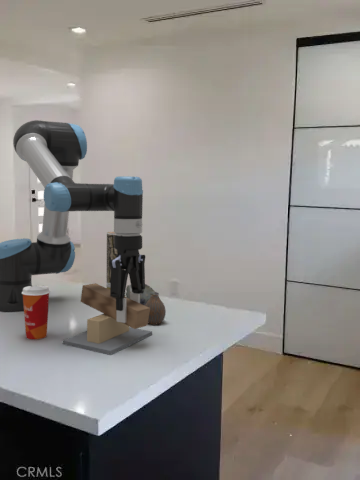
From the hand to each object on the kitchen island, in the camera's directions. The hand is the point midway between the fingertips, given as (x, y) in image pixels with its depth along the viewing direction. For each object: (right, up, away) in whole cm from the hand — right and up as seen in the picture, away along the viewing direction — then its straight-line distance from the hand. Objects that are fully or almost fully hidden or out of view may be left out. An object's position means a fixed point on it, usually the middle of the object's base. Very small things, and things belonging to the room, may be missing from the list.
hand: (128, 319), depth 133 cm
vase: (+6, -5, +21) cm, 22 cm away
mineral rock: (+1, -3, +39) cm, 39 cm away
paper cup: (-26, -6, +5) cm, 27 cm away
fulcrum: (-6, -6, +4) cm, 9 cm away
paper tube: (-11, -1, +56) cm, 57 cm away
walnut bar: (-5, +1, +4) cm, 6 cm away
